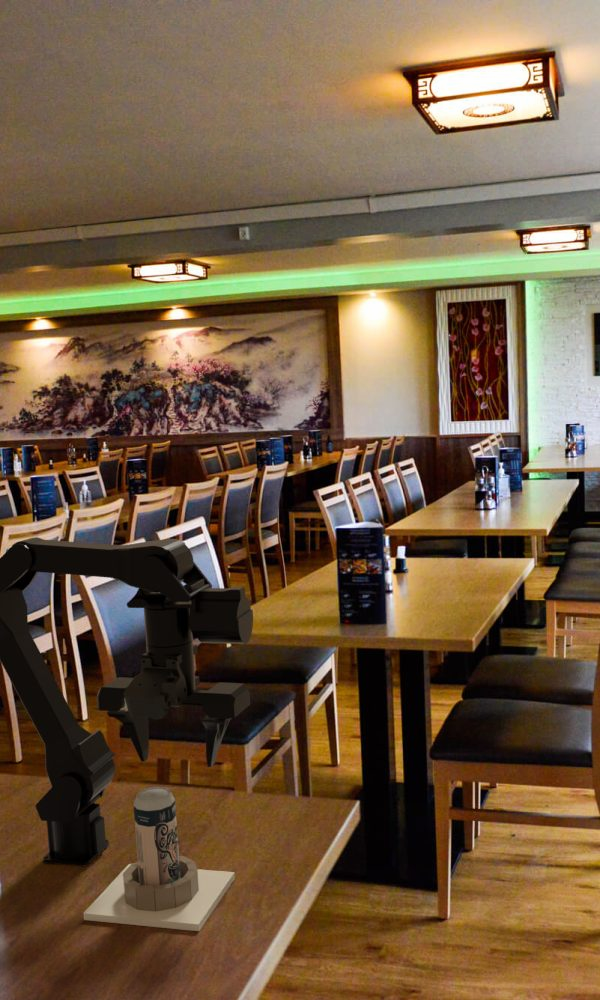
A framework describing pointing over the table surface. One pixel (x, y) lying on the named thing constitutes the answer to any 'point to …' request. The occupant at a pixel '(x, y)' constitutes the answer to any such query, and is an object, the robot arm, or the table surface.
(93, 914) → the socket board
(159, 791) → the beer can
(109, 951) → the table surface
